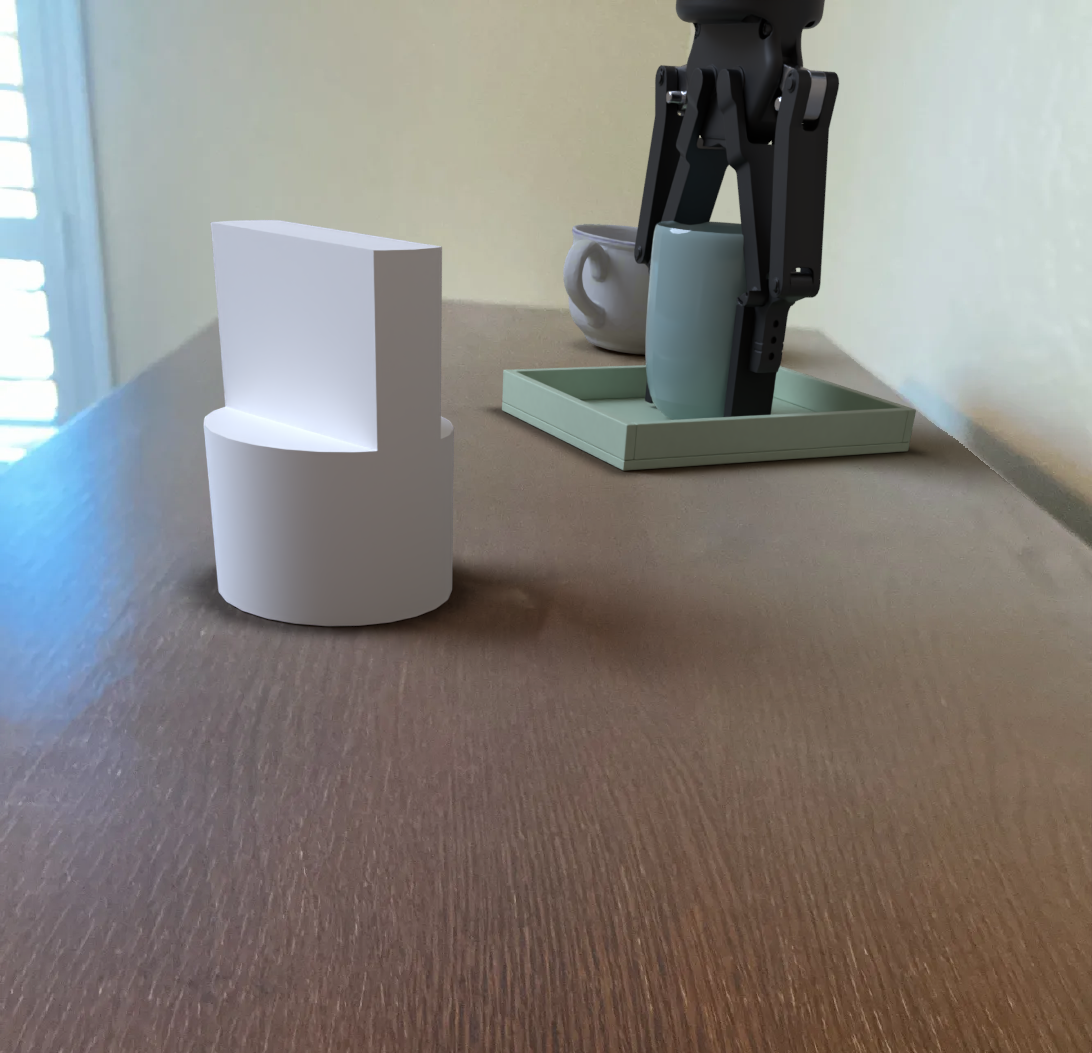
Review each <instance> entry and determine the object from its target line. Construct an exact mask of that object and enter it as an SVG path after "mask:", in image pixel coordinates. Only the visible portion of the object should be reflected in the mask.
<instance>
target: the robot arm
mask: <svg viewBox="0 0 1092 1053" xmlns="http://www.w3.org/2000/svg"><path fill="white" fill-rule="evenodd" d="M825 2H826V0H675V13H676V15H677V17H678V18H679V20H681V21H682V22H685V23H689V24H692V25H693V27H694V35H693V41H692V45H691V48H690V51H689V53H688V54H689V55H688V57H687V62H686V64H682V65H678V66H677V65H665V64H663V65H662V64H660V66H658V68H657V69H656V72H655V78H654V79H655V80H654V120H653V126H652V131H651V132H652V134H651V139H650V147H649V152H648V158H647V166H646V171H645V178H644V185H643V191H642V196H641V197H642V198H641V205H640V211H639V216H638V224H637V227H638V229H637V235H636V242H635V248H634V258H635V261H636V262H637V263H638V264H645V265H646V266H647V267H648V272H649V276H650V265H651V254H652V244H653V236H654V230H655V226H656V224H657V223H659V222H664V221H675V222H678V223H681V224H688V225H694V224H702V223H705V222H711V219H712V215H713V211H714V208H715V205H716V202H717V199H718V197H719V193H720V190H721V187H722V184H723V180H724V177H725V175H726V171H727V169H728V167H731V168H732V169H733V170H734V171H735V174H736V182H737V185H736V186H737V195H738V206H739V217H740V224H741V229H742V235H743V237H744V243H743V251H744V262H745V272H746V283H747V293H744V294H742V295H740V296H739V297H737V298H736V300H737V303H738V305H736V314H735V322H734V331H733V339H732V348H731V356H730V365H729V373H728V382H727V390H726V399H725V408H724V416H723V417H737V416H757V415H771V410H772V402H773V395H774V388H775V380H776V373H777V372H778V370H779V367H780V366H782V365H781V364H782V361H783V360H782V359H783V353H784V352H783V351H784V345H785V343H784V342H785V338H786V330H787V324H788V316H789V311H790V309H791V307H792V306H794V305H795V304H796V302H798V301H801V300H803V299H807V298H811V299H812V298H815V297H816V296H817V295H818V294H819V292H820V289H821V281H822V279H821V278H822V264H823V247H824V246H823V245H824V229H825V228H824V226H825V209H826V192H827V190H826V189H827V173H828V172H827V171H828V152H829V137H830V136H829V134H830V127H831V123H832V118H833V115H834V109H835V105H836V101H837V97H838V93H839V89H840V78H839V75H838V73H836V71H827V70H826V71H825V70H815V69H813V70H812V69H808V68H806V67H804V60H803V59H804V58H803V52H802V34H803V30H809V29H814V28H815V27H817V26H818V25H819V24H820V23H821V21H822V19H823V16H824V11H825V10H824V9H825ZM770 143H771V144H770ZM797 269H799V271H797ZM768 272H769V279H767V274H768ZM645 401H646V402H648V403H651V404H652V403H653V401H652V398H651V395H650V392H649V388H648V383H647V382H646V394H645Z"/></svg>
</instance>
